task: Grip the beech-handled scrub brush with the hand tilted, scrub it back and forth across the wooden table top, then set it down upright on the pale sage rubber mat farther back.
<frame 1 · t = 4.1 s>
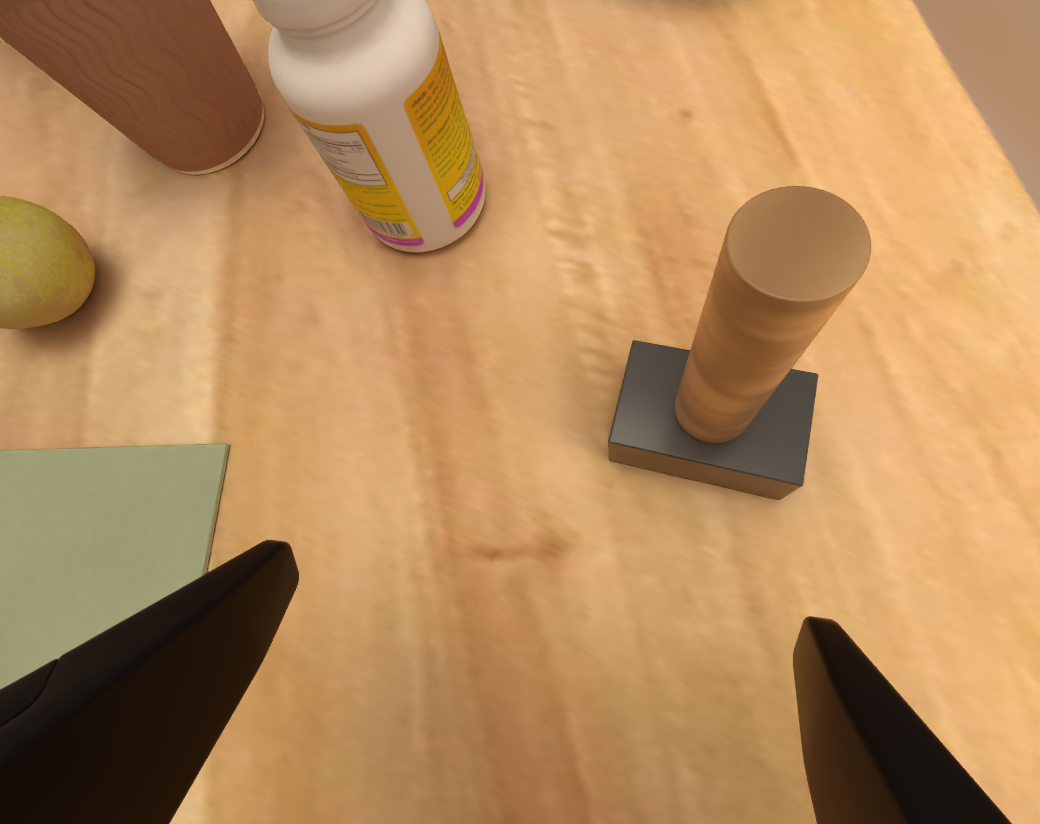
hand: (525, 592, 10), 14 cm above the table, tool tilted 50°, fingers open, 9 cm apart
coffee cup: (215, 132, 35), on the table
mat: (9, 594, 27), on the table
brush: (700, 430, 24), on the table
supplement bottle: (428, 207, 31), on the table
fruit: (67, 298, 32), on the table
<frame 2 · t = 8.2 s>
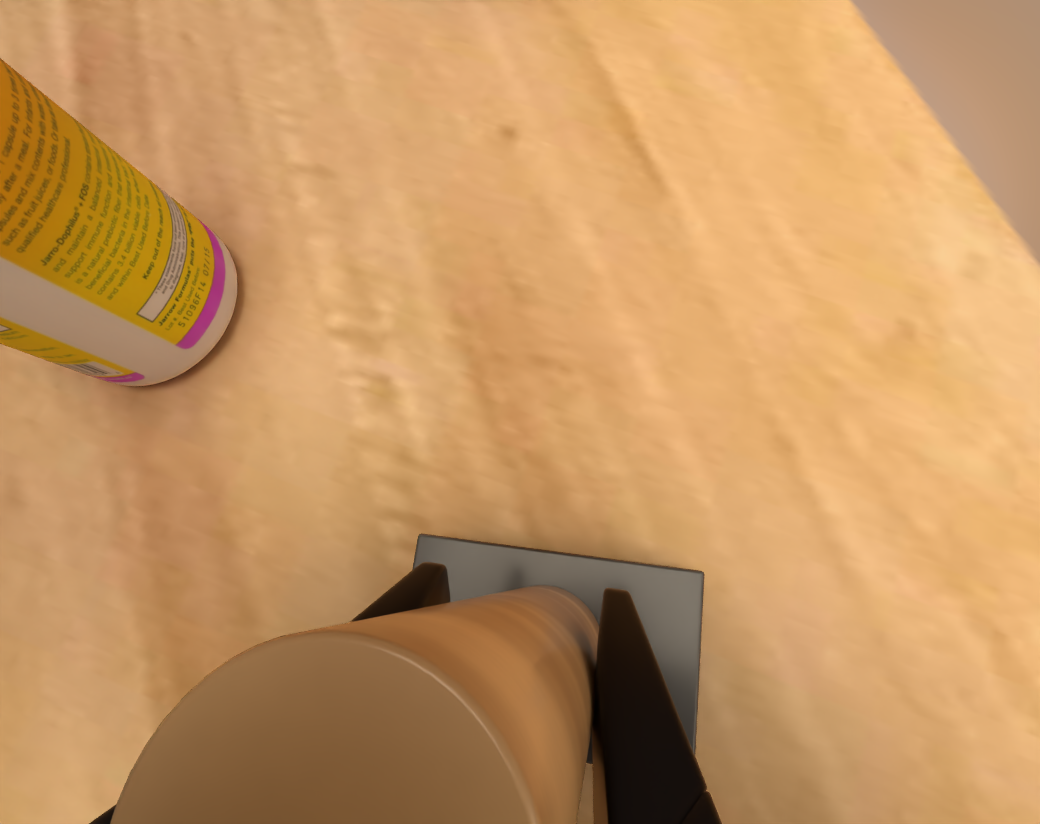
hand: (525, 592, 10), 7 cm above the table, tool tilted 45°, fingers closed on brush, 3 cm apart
brush: (556, 633, 16), on the table, touching gripper
supplement bottle: (168, 310, 22), on the table
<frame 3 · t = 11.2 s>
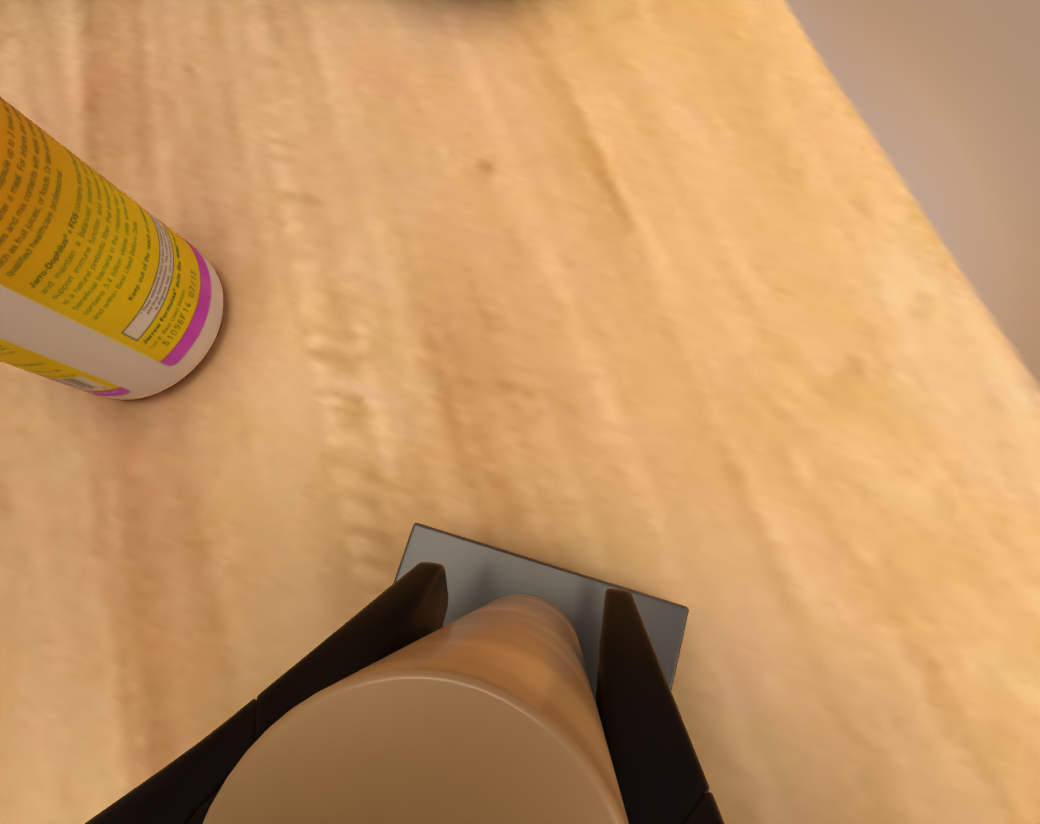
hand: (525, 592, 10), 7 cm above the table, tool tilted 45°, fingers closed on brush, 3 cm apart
brush: (527, 640, 16), on the table, tilted 6°, touching gripper
supplement bottle: (158, 327, 23), on the table
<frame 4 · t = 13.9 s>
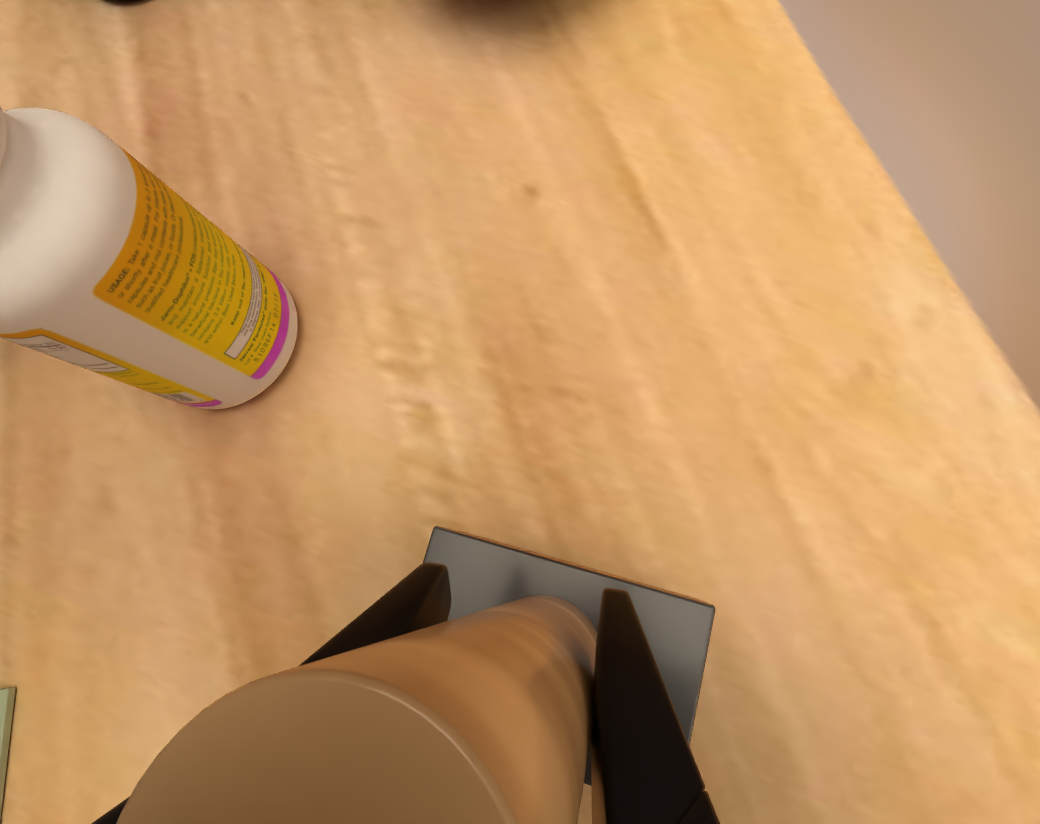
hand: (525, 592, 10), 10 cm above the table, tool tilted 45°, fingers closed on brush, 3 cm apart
brush: (557, 642, 16), point 4 cm above the table, touching gripper
supplement bottle: (236, 342, 25), on the table
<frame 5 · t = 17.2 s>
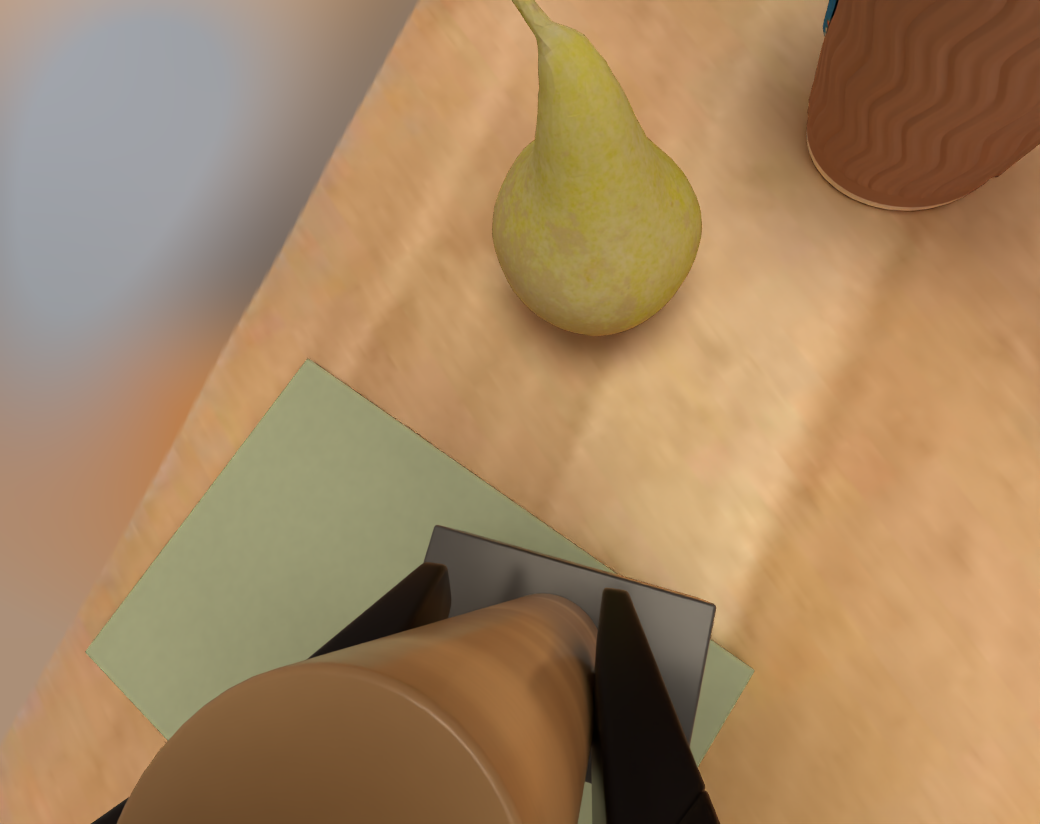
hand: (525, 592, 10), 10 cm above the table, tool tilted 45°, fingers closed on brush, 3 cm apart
coffee cup: (898, 138, 22), on the table
mat: (390, 659, 20), on the table
brush: (557, 640, 16), point 4 cm above the table, touching gripper
fruit: (591, 279, 23), on the table
when the fingers open (7 cm above the table, at t = 19.7 s): brush stays where it is, resting on mat.
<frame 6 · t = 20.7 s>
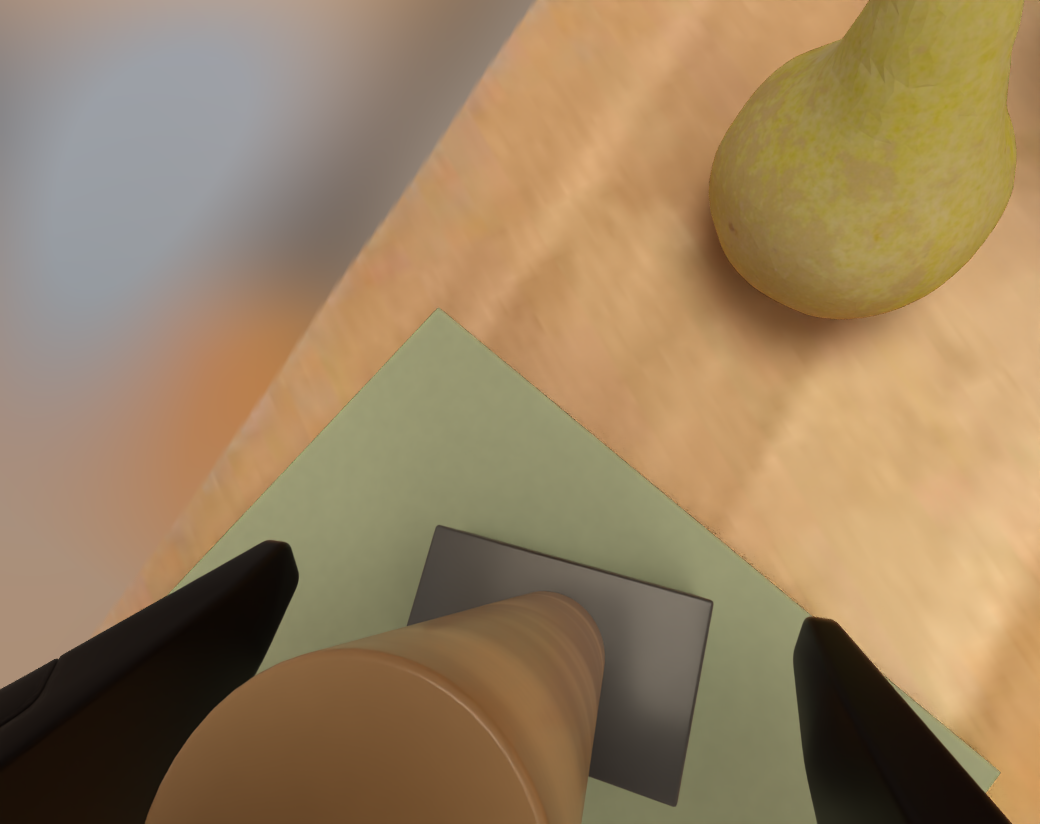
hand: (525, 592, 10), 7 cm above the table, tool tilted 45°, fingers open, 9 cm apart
mat: (513, 682, 16), on the table
brush: (557, 638, 16), resting on mat
fruit: (796, 252, 19), on the table
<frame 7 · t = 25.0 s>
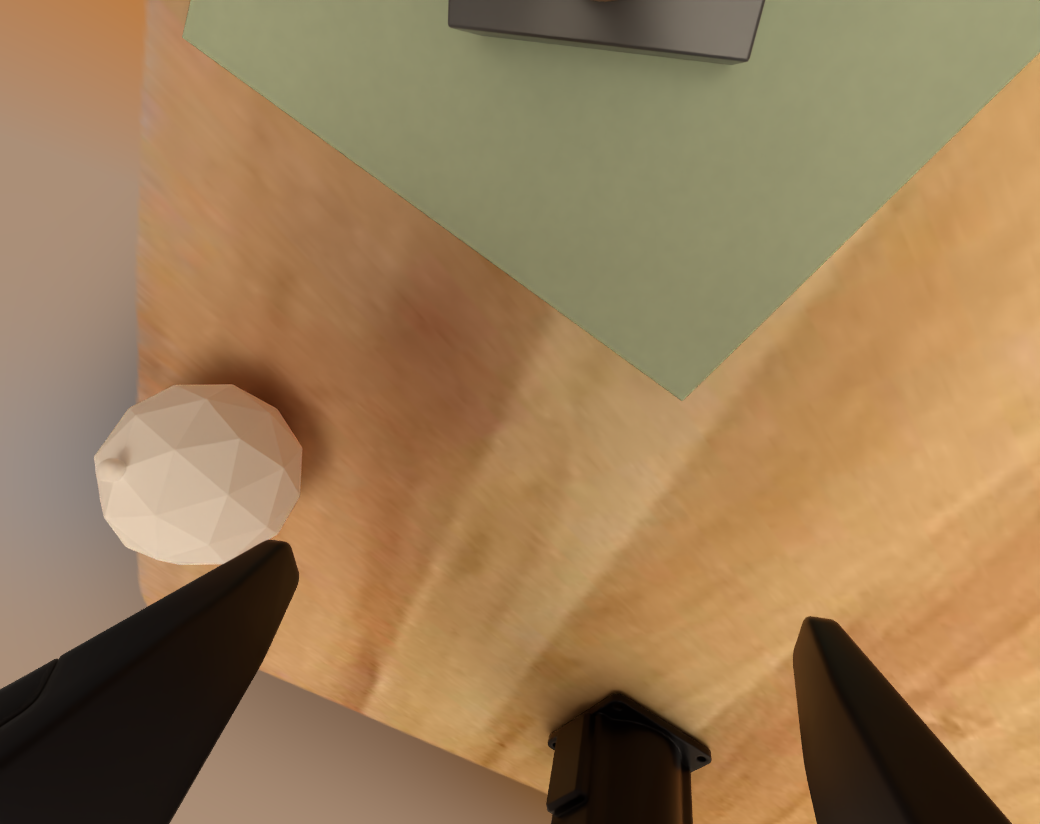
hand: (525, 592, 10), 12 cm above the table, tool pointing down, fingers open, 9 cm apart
ornament: (260, 426, 26), on the table
mat: (573, 18, 16), on the table
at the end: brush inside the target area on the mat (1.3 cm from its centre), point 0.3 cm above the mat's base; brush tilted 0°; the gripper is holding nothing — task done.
